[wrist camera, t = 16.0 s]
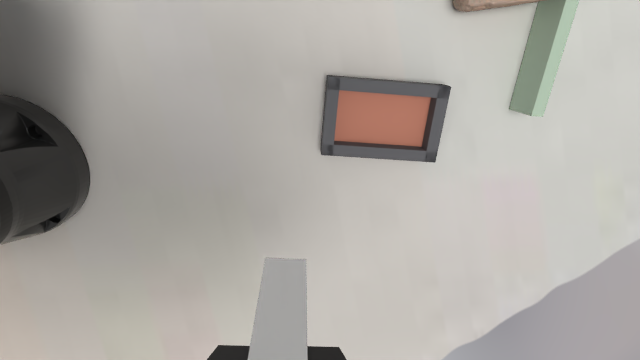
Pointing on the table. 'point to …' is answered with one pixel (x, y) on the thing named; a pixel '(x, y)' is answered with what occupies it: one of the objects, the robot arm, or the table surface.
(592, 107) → the table surface
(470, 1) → the brick
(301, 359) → the robot arm
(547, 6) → the sage end wall
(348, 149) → the trap pits
